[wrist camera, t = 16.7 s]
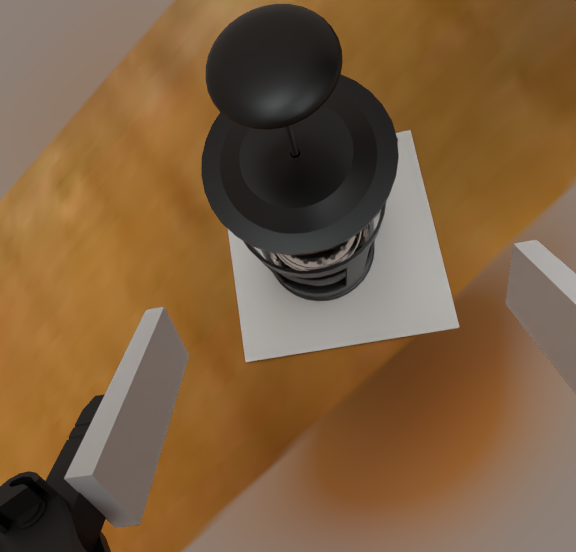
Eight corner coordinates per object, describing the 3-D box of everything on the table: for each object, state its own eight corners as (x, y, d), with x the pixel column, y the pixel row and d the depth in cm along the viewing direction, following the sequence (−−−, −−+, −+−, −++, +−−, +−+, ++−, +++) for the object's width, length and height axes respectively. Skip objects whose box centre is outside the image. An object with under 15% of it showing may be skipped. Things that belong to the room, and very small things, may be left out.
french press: (309, 329, 32) (229, 296, 10) (242, 251, 34) (49, 78, 12) (412, 238, 32) (564, 0, 10) (338, 166, 34) (325, -164, 12)
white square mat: (408, 135, 35) (410, 129, 34) (456, 328, 31) (459, 327, 30) (223, 176, 37) (220, 172, 36) (248, 361, 34) (245, 362, 33)
